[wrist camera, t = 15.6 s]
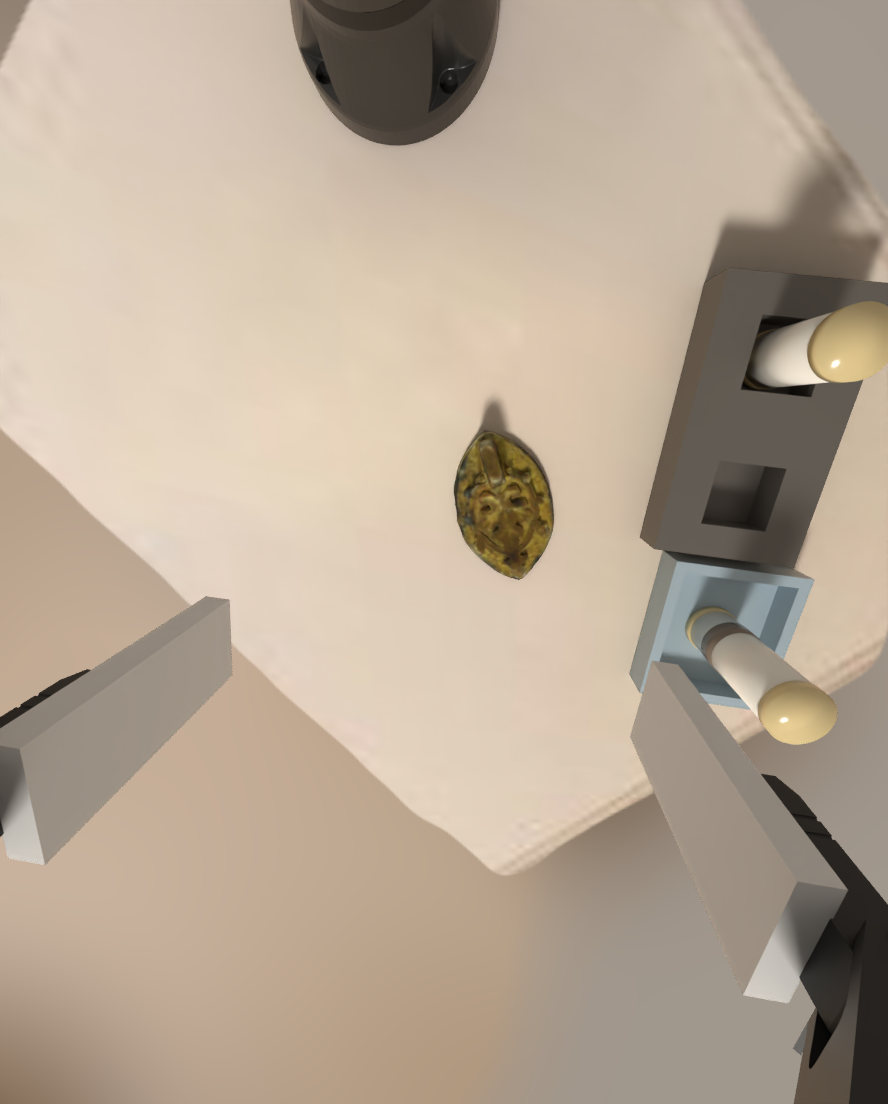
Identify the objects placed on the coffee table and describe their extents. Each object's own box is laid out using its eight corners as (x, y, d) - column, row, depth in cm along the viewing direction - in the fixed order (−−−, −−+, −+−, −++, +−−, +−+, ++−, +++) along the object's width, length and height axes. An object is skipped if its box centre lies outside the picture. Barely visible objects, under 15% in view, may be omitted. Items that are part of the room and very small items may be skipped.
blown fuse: (692, 602, 44) (778, 684, 31) (740, 609, 44) (847, 694, 31) (679, 644, 46) (756, 738, 32) (725, 650, 45) (823, 749, 32)
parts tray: (663, 550, 44) (677, 561, 41) (790, 567, 43) (814, 579, 40) (629, 674, 48) (639, 692, 45) (744, 691, 47) (763, 711, 44)
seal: (564, 559, 47) (526, 416, 43) (578, 574, 42) (537, 415, 38) (479, 586, 47) (433, 448, 43) (484, 603, 43) (433, 451, 39)
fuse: (744, 328, 37) (833, 297, 27) (802, 333, 37) (913, 305, 27) (728, 387, 38) (807, 377, 29) (783, 393, 38) (882, 385, 28)
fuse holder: (704, 282, 37) (729, 267, 33) (855, 297, 36) (898, 283, 33) (639, 537, 44) (654, 548, 40) (766, 554, 43) (793, 567, 39)
